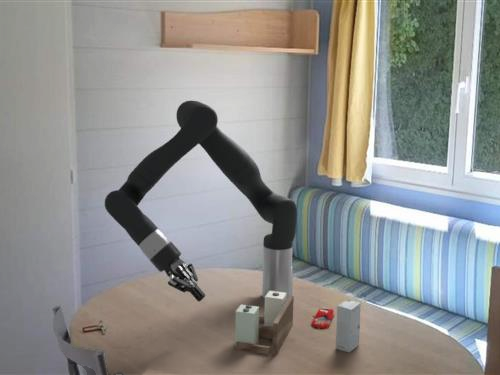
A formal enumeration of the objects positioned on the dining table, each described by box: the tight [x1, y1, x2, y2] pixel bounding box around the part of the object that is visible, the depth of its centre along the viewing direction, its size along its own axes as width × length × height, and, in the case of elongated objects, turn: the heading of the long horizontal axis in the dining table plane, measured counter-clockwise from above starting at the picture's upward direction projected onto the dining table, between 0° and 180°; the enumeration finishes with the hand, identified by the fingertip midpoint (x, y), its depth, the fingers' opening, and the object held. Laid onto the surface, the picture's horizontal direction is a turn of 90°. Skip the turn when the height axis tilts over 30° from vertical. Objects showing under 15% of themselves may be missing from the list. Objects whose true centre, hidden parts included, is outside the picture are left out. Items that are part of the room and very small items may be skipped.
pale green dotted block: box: [234, 304, 260, 348], centre depth 167 cm, size 5×5×10 cm
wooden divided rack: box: [235, 295, 295, 356], centre depth 173 cm, size 15×19×10 cm
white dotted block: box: [263, 291, 287, 327], centre depth 177 cm, size 5×5×10 cm
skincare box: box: [335, 299, 362, 353], centre depth 170 cm, size 6×4×12 cm
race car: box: [310, 307, 335, 330], centre depth 184 cm, size 13×5×4 cm, turn 161°
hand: (202, 298), depth 169 cm, fingers closed
